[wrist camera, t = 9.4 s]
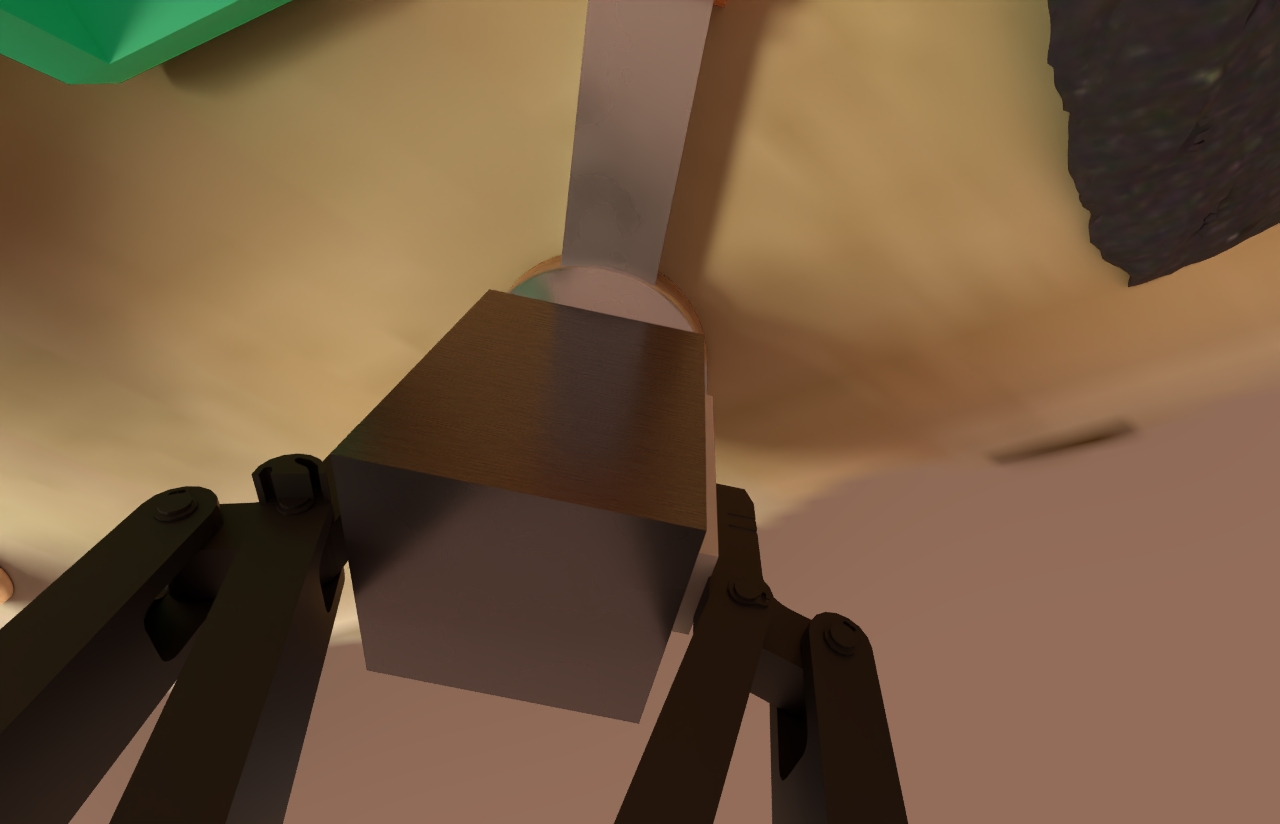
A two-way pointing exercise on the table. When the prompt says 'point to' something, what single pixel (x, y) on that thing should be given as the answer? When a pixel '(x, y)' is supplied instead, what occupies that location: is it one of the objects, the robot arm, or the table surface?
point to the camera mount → (114, 33)
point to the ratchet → (627, 162)
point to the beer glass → (5, 587)
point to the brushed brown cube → (530, 506)
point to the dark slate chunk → (1170, 124)
